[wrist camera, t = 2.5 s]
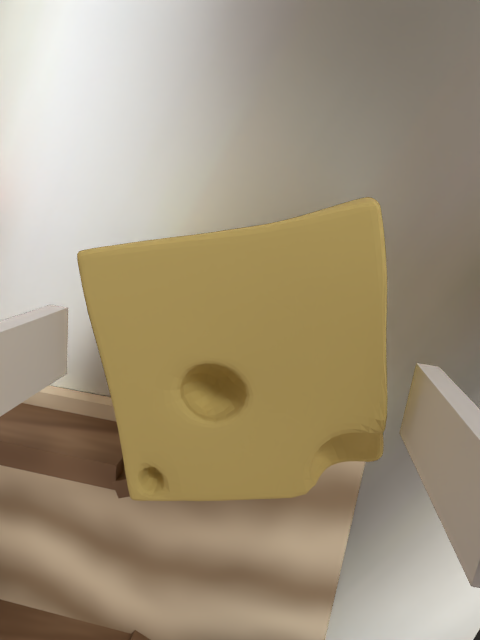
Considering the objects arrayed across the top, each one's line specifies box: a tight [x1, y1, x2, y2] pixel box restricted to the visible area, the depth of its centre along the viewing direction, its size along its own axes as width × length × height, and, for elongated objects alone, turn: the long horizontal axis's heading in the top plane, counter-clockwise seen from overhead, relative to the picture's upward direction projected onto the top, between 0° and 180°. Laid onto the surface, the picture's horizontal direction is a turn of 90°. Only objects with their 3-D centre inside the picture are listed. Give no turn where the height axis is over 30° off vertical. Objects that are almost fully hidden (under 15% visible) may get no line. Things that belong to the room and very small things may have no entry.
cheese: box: [77, 197, 387, 501], centre depth 18 cm, size 10×11×10 cm
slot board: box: [0, 385, 365, 640], centre depth 25 cm, size 20×28×6 cm
